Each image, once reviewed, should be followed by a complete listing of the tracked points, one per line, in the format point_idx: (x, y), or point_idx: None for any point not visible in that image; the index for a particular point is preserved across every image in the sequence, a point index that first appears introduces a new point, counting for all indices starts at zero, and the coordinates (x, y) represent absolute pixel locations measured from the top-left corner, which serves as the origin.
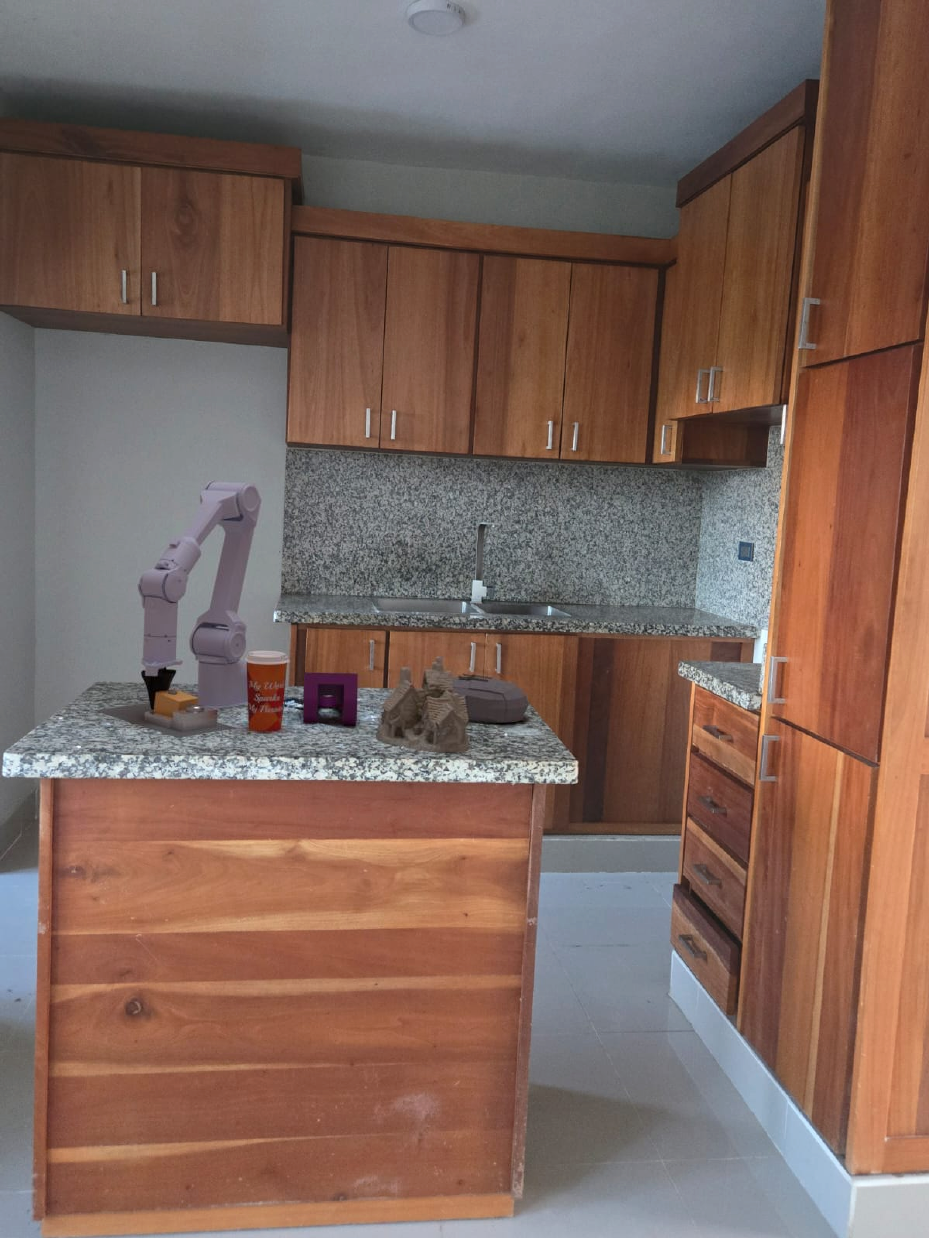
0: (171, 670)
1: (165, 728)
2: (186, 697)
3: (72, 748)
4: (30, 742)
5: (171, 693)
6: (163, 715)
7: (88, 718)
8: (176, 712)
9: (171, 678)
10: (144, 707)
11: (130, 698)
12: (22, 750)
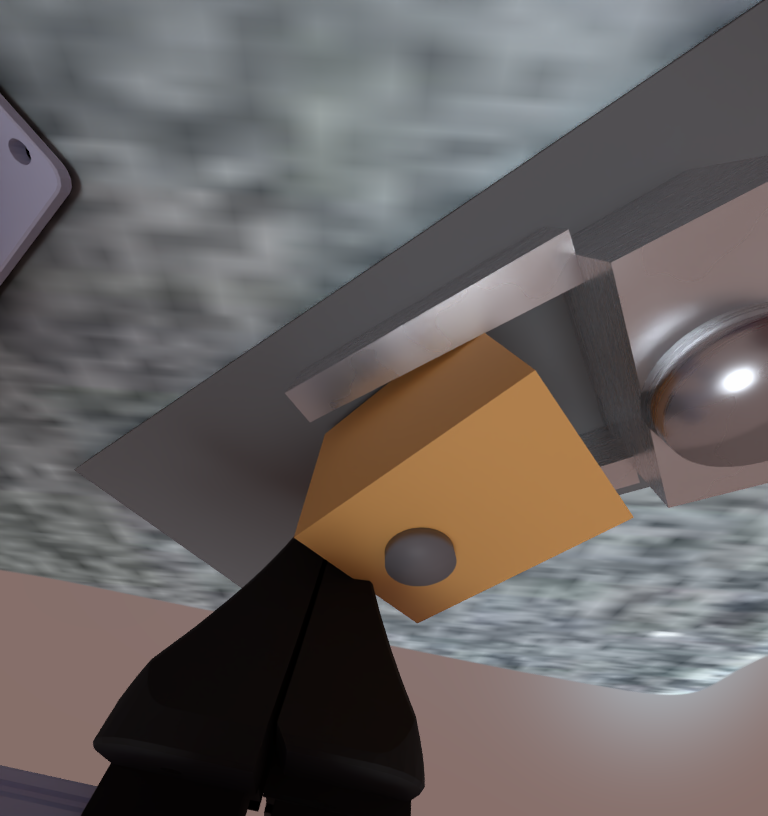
0: (180, 765)
1: None
2: (519, 469)
3: (675, 643)
4: (562, 675)
5: (450, 564)
6: None
7: None
8: (709, 495)
9: (346, 687)
10: (174, 496)
11: (3, 505)
12: (633, 687)
